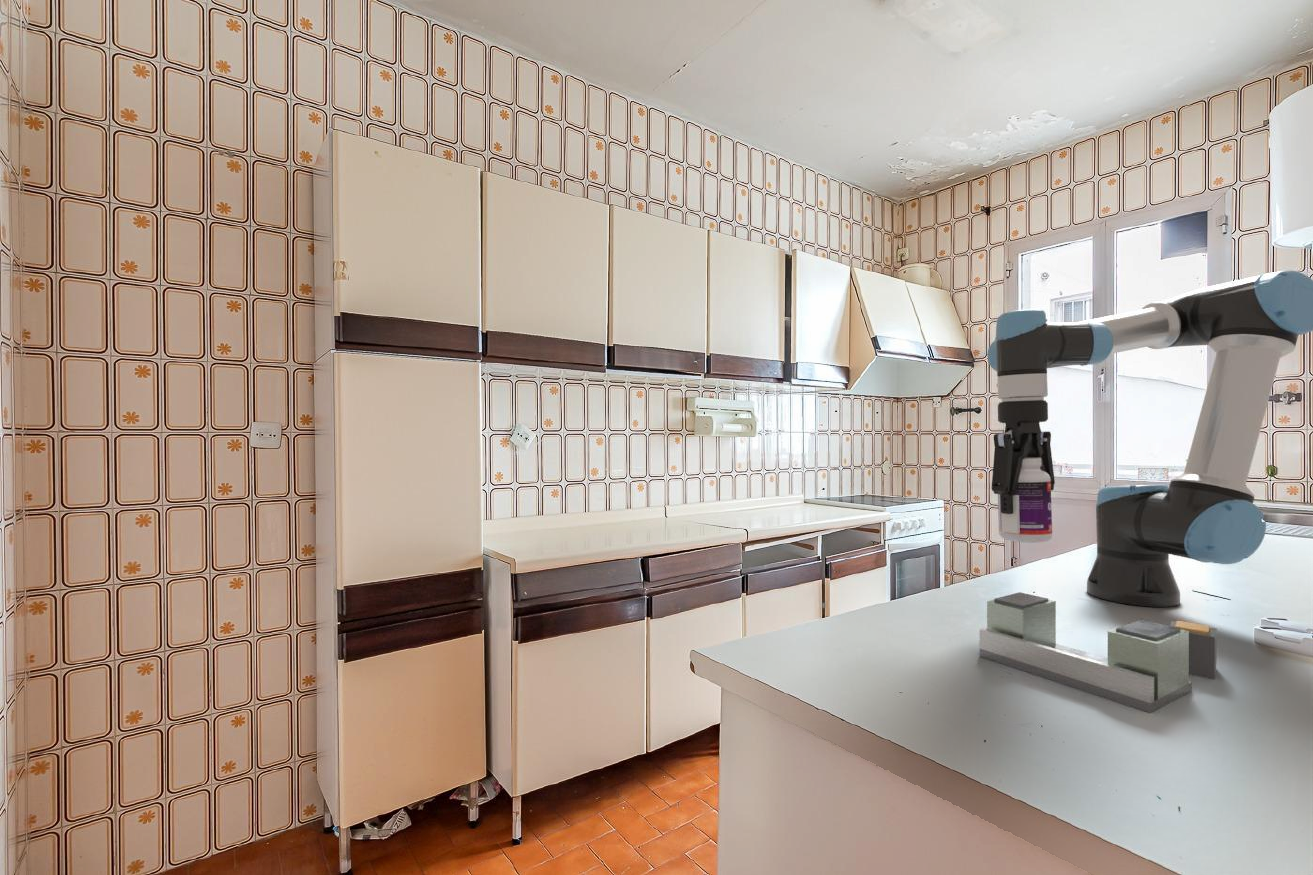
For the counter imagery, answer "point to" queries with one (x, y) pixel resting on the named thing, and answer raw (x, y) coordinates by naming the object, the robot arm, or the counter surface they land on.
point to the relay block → (1200, 648)
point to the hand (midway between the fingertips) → (1024, 529)
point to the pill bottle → (1032, 504)
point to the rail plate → (1133, 674)
